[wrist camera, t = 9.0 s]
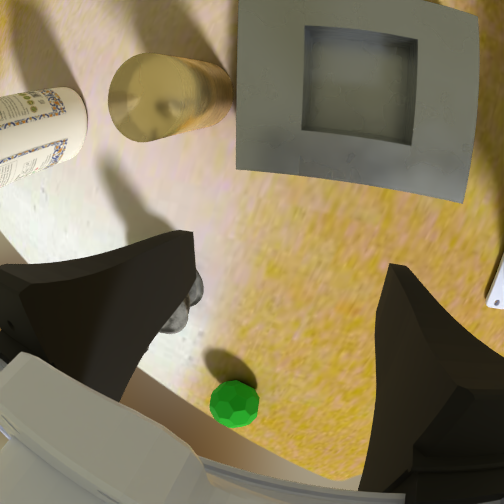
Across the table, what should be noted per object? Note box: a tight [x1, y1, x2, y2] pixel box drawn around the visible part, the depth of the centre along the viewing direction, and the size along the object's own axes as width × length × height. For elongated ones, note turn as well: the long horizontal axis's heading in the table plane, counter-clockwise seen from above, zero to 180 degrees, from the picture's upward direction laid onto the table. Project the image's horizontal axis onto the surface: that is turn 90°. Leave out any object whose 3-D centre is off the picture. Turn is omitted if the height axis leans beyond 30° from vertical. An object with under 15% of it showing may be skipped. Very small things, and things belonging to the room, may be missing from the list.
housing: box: [236, 0, 479, 204], centre depth 14 cm, size 12×10×4 cm
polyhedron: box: [210, 380, 259, 428], centre depth 29 cm, size 5×5×5 cm
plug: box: [108, 53, 234, 142], centre depth 16 cm, size 5×5×6 cm
